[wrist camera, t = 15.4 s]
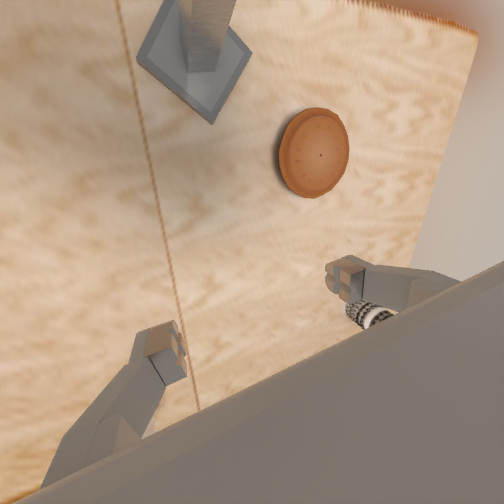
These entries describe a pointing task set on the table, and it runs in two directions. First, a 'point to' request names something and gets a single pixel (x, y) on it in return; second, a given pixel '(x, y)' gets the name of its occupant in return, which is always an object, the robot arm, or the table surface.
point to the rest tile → (175, 70)
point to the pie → (314, 152)
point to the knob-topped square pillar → (203, 31)
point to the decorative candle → (366, 313)
